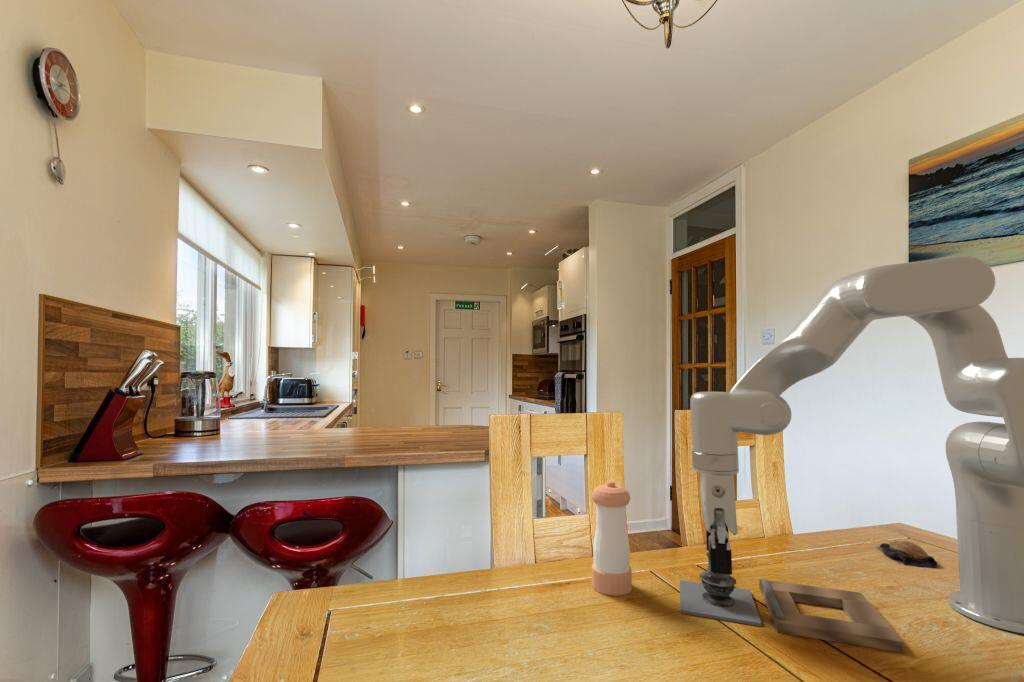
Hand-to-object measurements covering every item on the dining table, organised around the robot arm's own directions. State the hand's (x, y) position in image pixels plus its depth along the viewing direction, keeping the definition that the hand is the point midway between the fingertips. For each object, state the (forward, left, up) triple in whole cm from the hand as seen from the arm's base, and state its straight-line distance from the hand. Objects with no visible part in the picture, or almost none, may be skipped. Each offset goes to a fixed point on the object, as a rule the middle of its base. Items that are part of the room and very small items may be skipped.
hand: (718, 561), depth 82 cm
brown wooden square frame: (-16, -1, -7) cm, 17 cm away
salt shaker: (0, 0, -7) cm, 7 cm away
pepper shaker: (+18, 0, -7) cm, 20 cm away
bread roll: (-40, -36, -8) cm, 55 cm away
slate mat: (0, 0, -7) cm, 7 cm away
